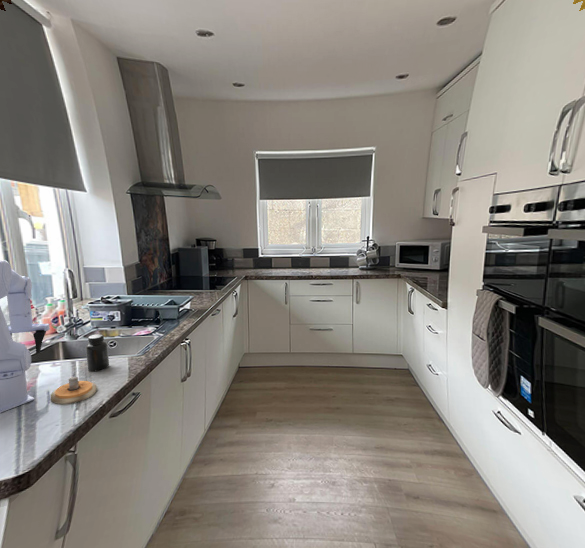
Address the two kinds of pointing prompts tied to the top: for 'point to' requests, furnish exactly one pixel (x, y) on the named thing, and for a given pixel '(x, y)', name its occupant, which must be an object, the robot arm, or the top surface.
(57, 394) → the rubber ring
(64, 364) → the top surface
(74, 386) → the post stand
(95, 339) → the supplement bottle
